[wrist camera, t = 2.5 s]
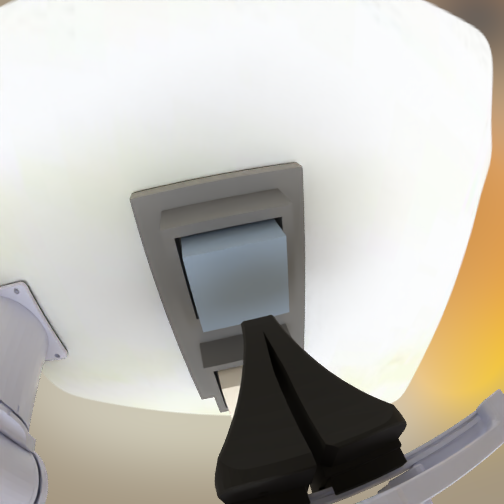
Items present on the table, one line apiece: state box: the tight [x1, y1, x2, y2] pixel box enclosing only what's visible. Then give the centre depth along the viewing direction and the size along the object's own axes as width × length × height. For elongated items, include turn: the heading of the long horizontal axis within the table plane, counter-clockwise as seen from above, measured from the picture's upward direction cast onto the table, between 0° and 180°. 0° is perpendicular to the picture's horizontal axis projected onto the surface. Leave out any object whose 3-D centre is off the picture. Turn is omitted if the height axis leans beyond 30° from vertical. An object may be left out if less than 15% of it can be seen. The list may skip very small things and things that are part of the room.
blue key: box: [181, 219, 289, 332], centre depth 17 cm, size 5×5×2 cm
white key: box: [218, 365, 243, 419], centre depth 22 cm, size 5×5×2 cm
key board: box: [130, 163, 305, 412], centre depth 21 cm, size 10×20×4 cm, turn 7°
